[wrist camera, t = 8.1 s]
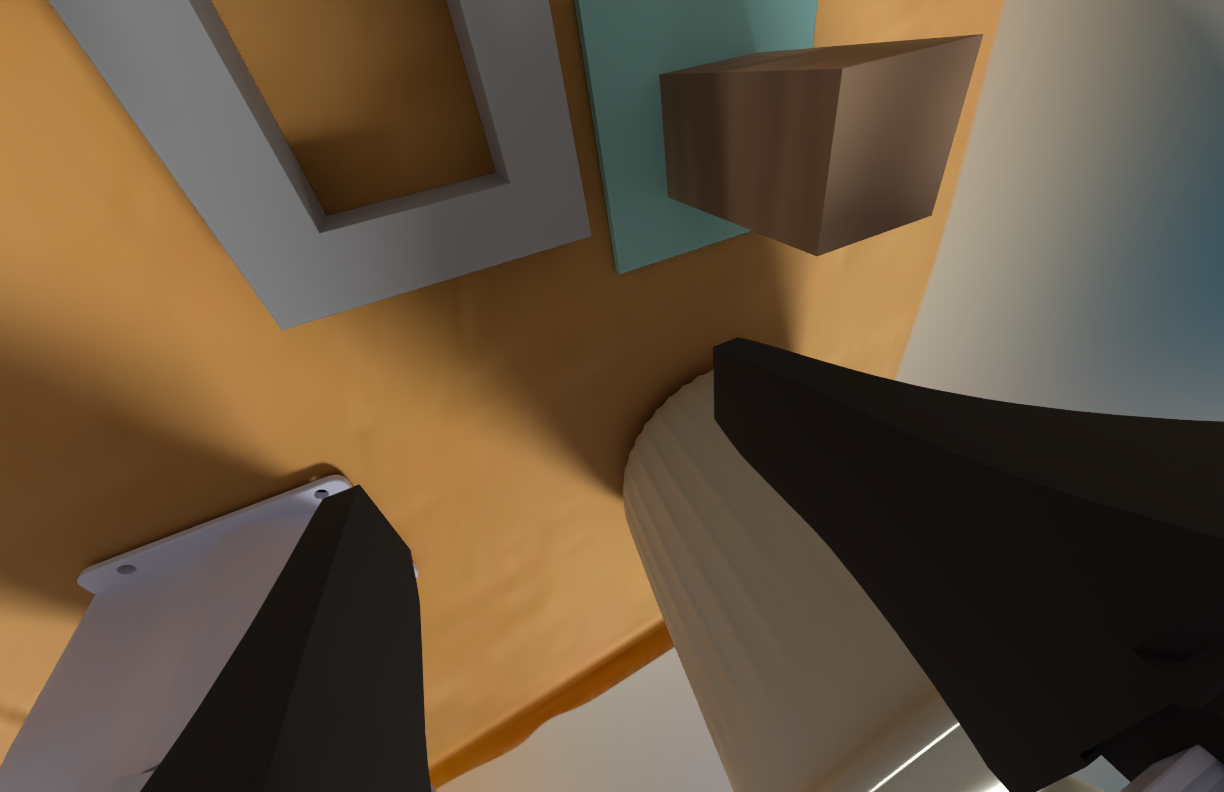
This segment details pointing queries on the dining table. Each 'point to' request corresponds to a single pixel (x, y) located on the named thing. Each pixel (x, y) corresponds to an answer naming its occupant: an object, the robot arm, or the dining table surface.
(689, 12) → the mat
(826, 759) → the canister
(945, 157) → the walnut block
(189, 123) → the pocket plate
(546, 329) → the dining table surface
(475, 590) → the dining table surface
